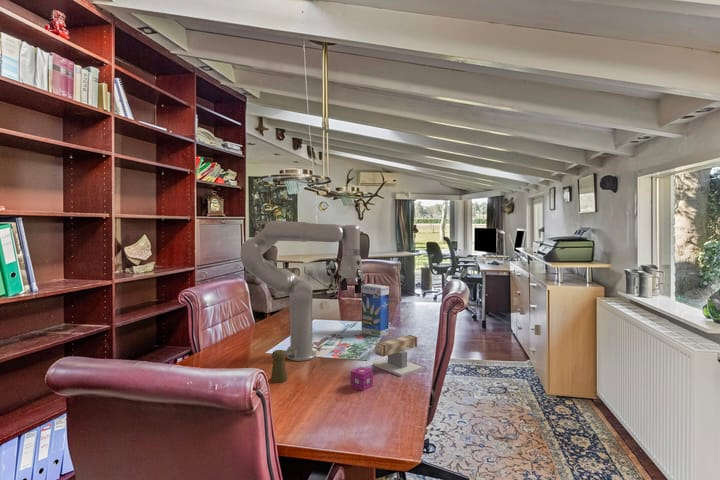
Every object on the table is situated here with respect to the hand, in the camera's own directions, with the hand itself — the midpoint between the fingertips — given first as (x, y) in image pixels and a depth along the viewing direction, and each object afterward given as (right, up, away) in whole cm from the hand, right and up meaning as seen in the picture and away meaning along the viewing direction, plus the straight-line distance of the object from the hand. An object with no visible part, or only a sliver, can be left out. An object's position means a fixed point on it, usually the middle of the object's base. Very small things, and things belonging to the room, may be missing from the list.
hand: (350, 291), depth 171 cm
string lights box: (+12, -27, +35) cm, 46 cm away
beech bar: (+19, -22, -14) cm, 32 cm away
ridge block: (+19, -29, -14) cm, 37 cm away
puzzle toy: (+5, -30, -33) cm, 44 cm away
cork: (-26, -29, -27) cm, 48 cm away
